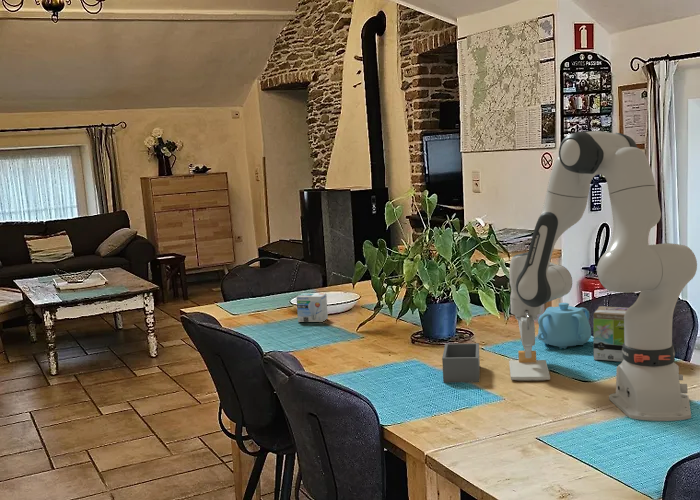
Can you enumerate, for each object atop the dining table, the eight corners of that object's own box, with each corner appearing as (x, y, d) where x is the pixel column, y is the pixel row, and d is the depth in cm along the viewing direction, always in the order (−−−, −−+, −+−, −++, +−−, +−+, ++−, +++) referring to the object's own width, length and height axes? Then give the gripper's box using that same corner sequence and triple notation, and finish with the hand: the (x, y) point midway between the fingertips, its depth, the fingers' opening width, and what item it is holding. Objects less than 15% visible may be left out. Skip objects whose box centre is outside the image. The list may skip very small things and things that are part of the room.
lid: (550, 383, 211) (549, 366, 211) (511, 383, 213) (510, 366, 213) (545, 365, 227) (545, 350, 227) (509, 366, 229) (508, 350, 229)
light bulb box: (297, 323, 304) (295, 296, 302) (303, 319, 310) (301, 292, 309) (323, 323, 301) (321, 296, 299) (328, 319, 307) (326, 292, 306)
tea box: (593, 360, 228) (592, 312, 227) (599, 352, 237) (598, 305, 235) (646, 364, 221) (646, 314, 220) (651, 355, 230) (650, 307, 228)
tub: (479, 382, 214) (478, 358, 214) (443, 382, 216) (442, 358, 215) (479, 366, 230) (478, 343, 229) (446, 366, 232) (445, 343, 231)
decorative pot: (547, 336, 260) (546, 297, 258) (596, 340, 251) (595, 299, 250) (532, 348, 246) (531, 307, 244) (583, 352, 238) (582, 309, 236)
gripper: (539, 314, 214) (540, 362, 215) (534, 299, 234) (536, 344, 235) (516, 315, 215) (517, 363, 216) (513, 300, 235) (515, 344, 236)
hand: (527, 353), depth 226 cm, fingers open, 8 cm apart
